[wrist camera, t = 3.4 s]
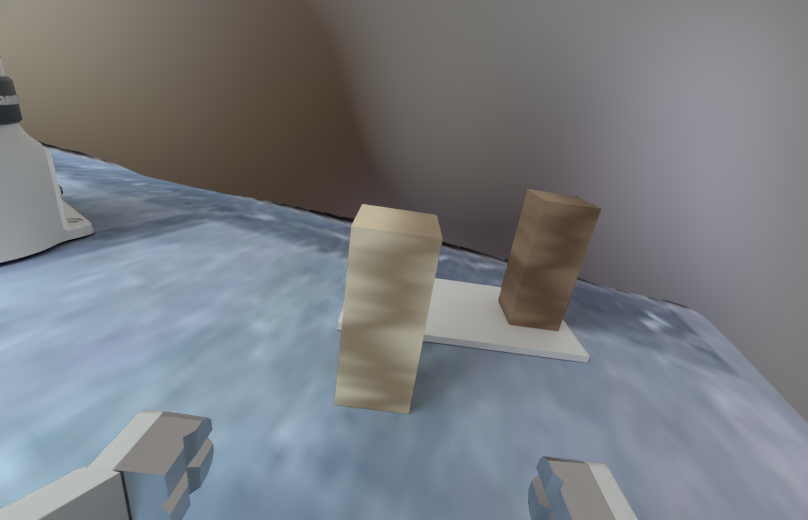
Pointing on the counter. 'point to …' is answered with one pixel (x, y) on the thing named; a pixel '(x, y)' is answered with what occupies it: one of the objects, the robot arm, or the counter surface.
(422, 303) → the birch pillar
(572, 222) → the walnut pillar
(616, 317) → the counter surface
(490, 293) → the white mat
